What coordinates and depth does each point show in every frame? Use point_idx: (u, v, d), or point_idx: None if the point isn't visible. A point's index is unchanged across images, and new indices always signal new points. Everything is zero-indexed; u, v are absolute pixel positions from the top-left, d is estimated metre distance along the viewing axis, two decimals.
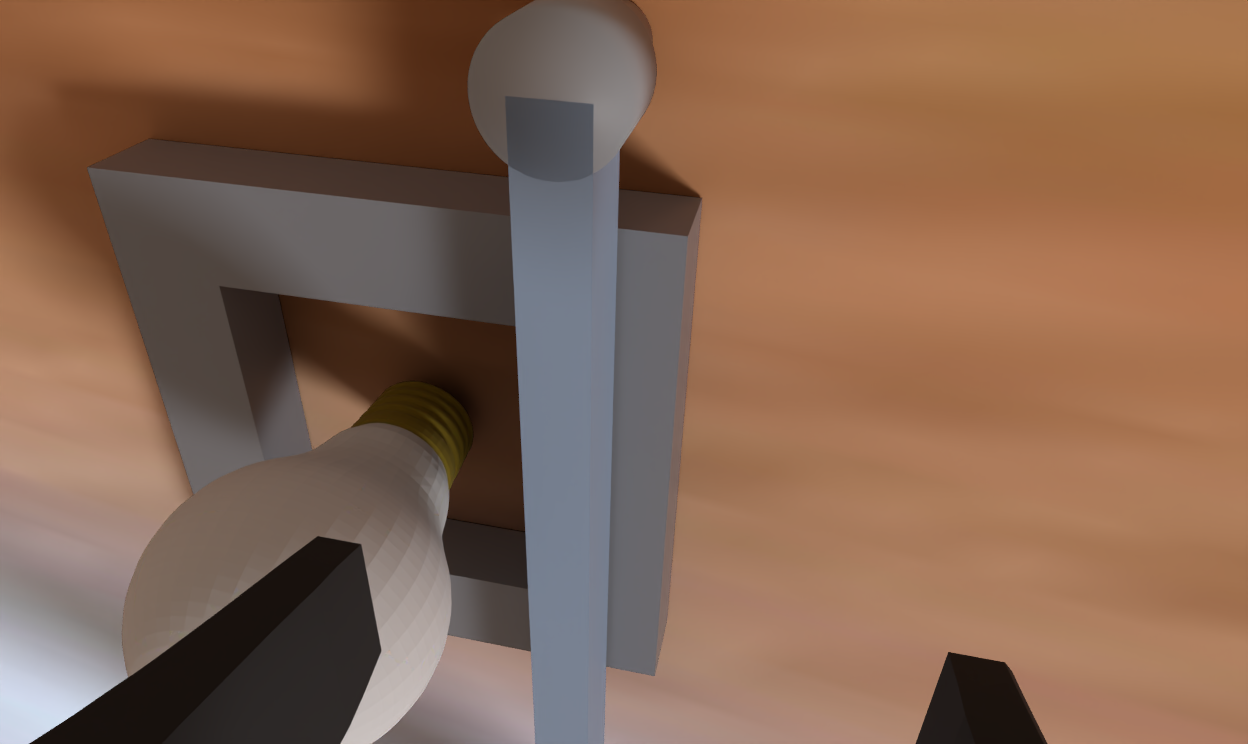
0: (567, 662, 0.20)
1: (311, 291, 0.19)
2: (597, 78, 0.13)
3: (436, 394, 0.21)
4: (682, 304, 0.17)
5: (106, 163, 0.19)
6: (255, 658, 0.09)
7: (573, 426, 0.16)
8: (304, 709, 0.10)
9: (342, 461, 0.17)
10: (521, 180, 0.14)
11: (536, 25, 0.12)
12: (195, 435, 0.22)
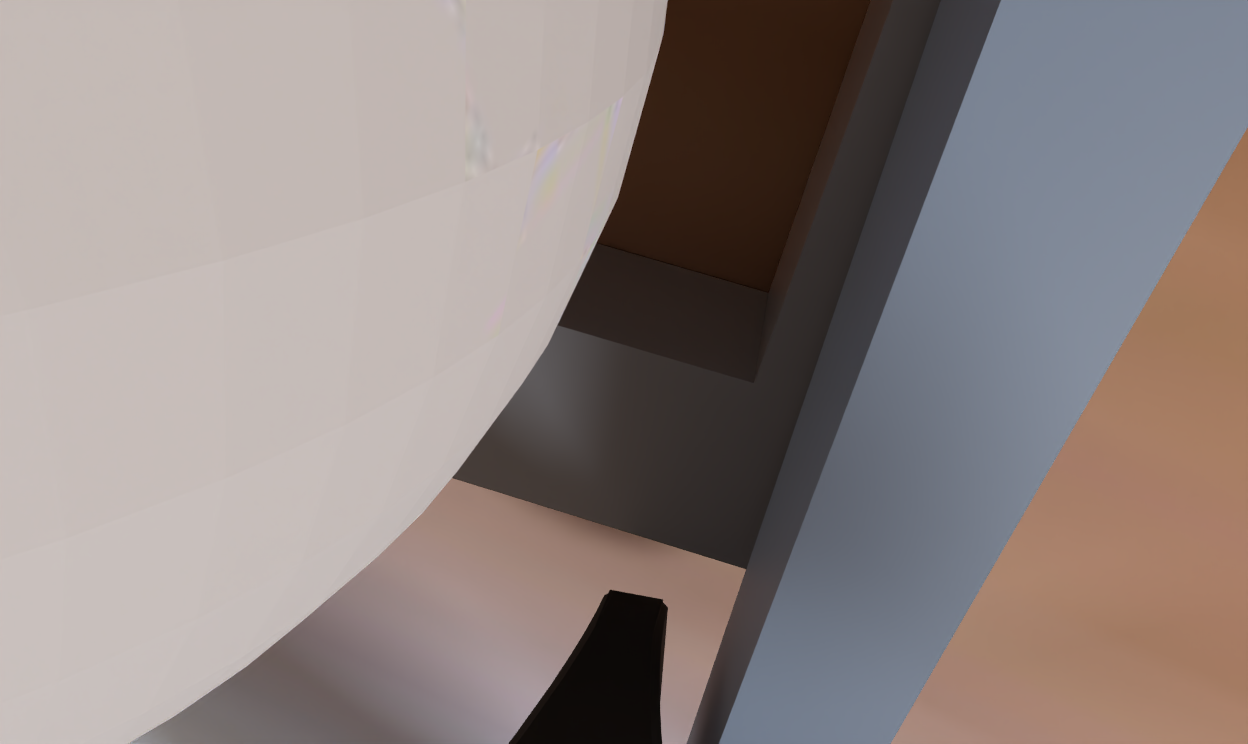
0: (918, 556, 0.06)
1: None
2: None
3: None
4: None
5: None
6: (617, 735, 0.08)
7: None
8: None
9: None
10: None
11: None
12: None
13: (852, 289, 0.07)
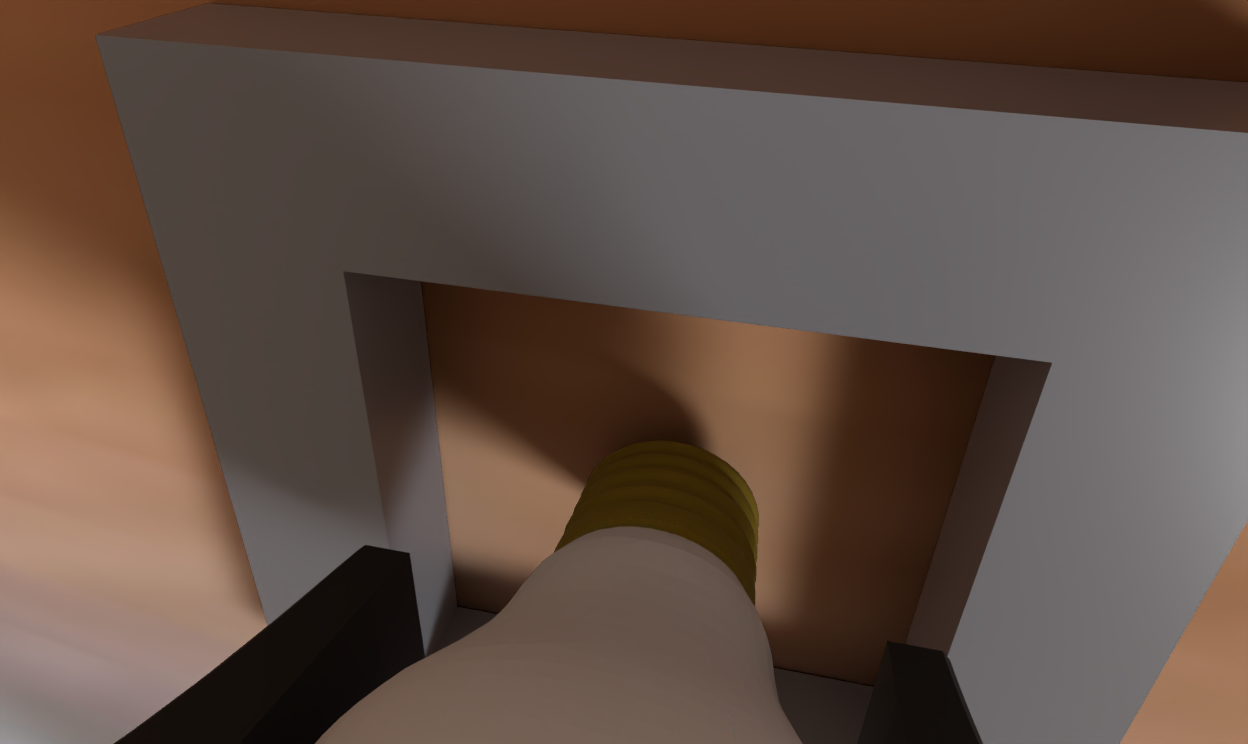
0: None
1: (527, 281, 0.10)
2: None
3: (708, 465, 0.12)
4: None
5: (133, 31, 0.09)
6: (312, 670, 0.09)
7: None
8: None
9: (647, 645, 0.08)
10: None
11: None
12: (275, 528, 0.13)
13: None
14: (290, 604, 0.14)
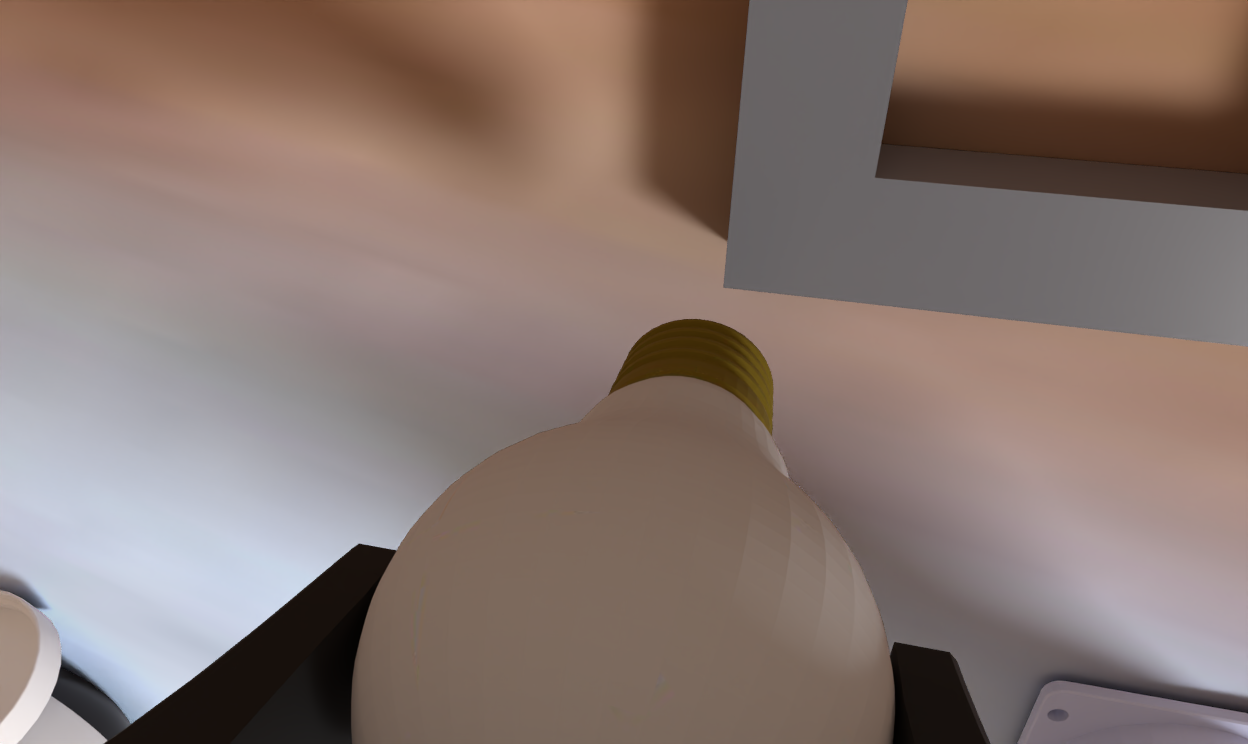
0: None
1: None
2: None
3: None
4: None
5: None
6: (305, 669, 0.09)
7: None
8: (349, 719, 0.10)
9: (714, 434, 0.10)
10: None
11: None
12: None
13: None
14: (776, 69, 0.15)
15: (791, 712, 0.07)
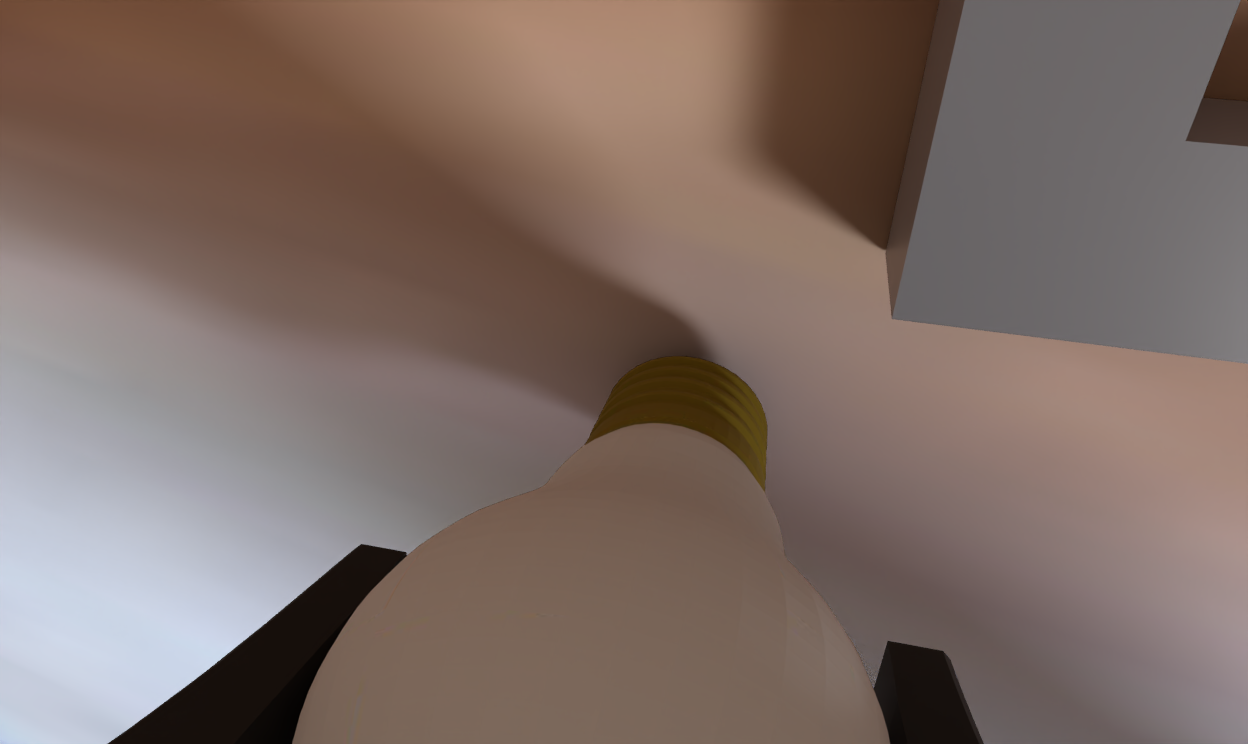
0: None
1: None
2: None
3: (729, 382, 0.13)
4: None
5: None
6: (308, 669, 0.09)
7: None
8: None
9: (702, 505, 0.09)
10: None
11: None
12: None
13: None
14: None
15: None
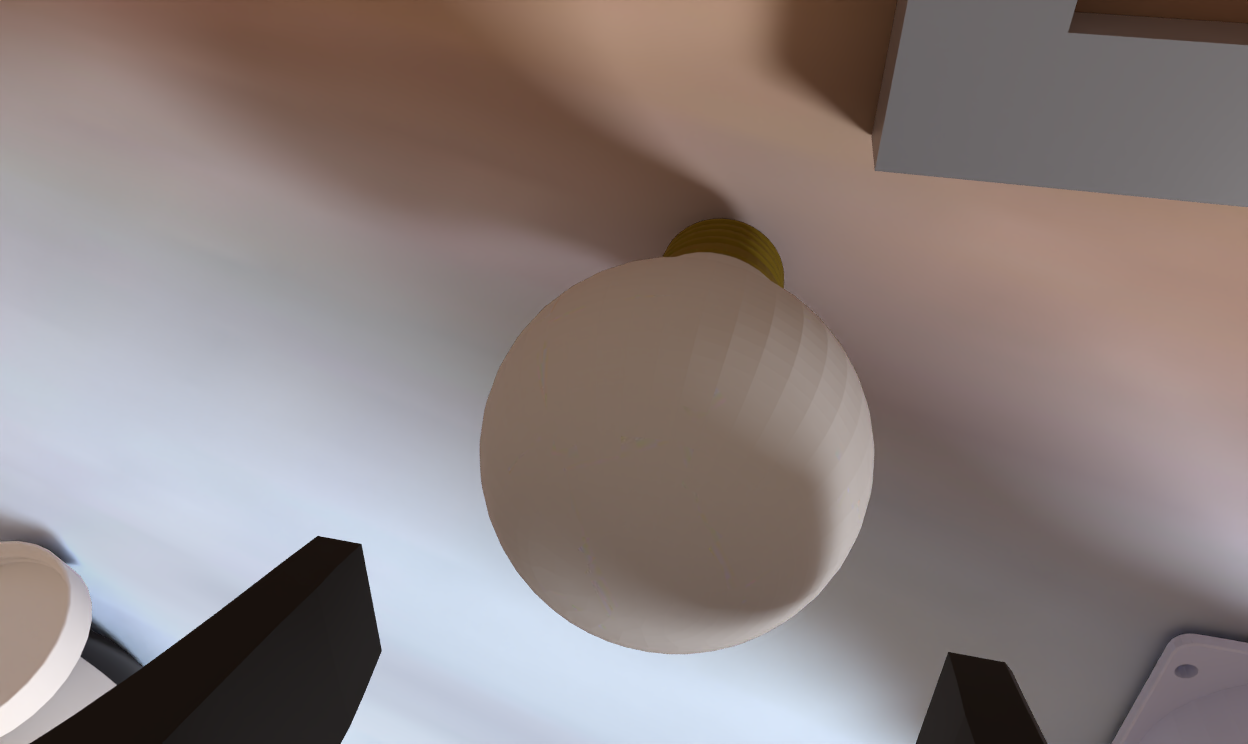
0: None
1: None
2: None
3: None
4: None
5: None
6: (255, 658, 0.09)
7: None
8: (304, 709, 0.10)
9: None
10: None
11: None
12: None
13: None
14: None
15: (802, 422, 0.11)
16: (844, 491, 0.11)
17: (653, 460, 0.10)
